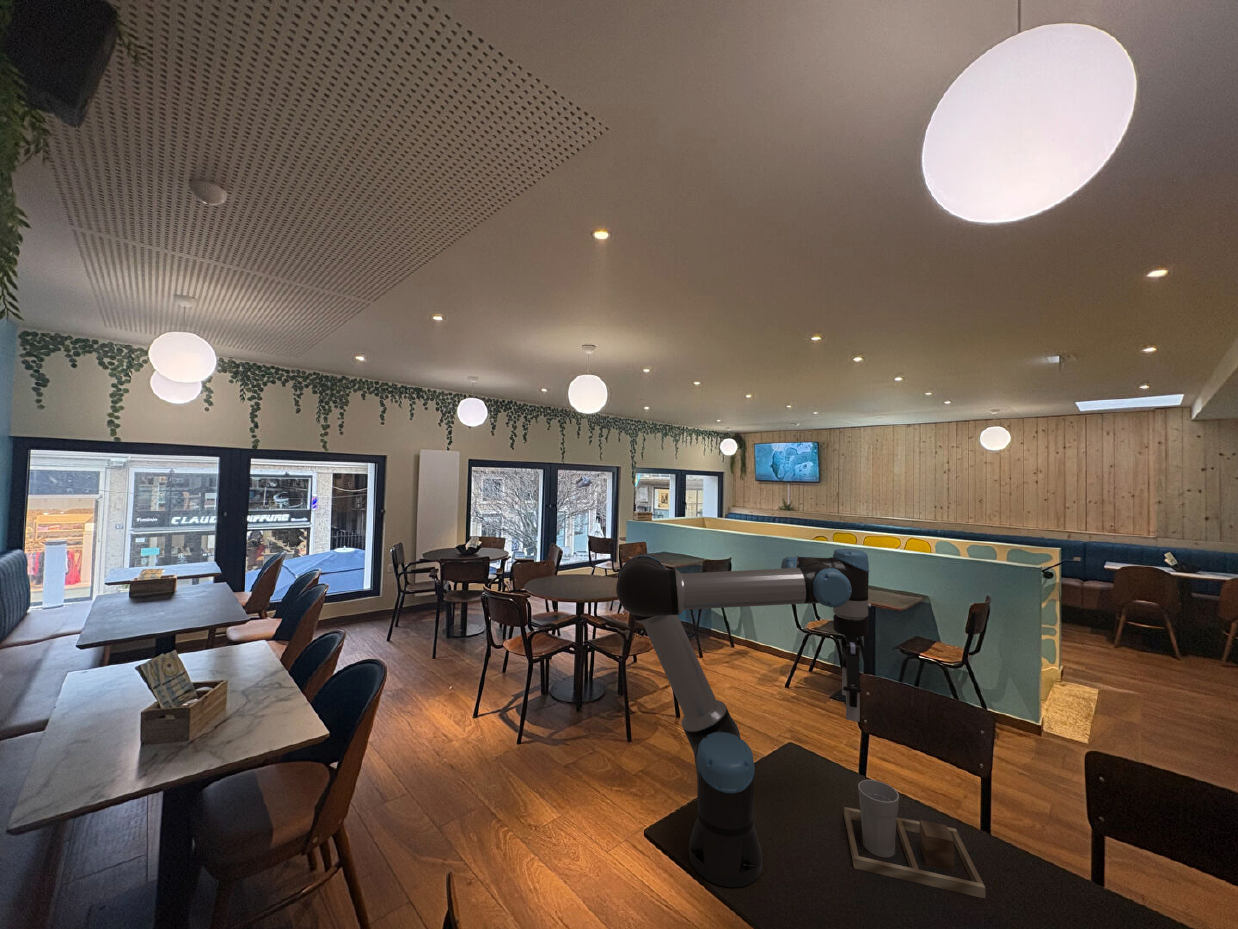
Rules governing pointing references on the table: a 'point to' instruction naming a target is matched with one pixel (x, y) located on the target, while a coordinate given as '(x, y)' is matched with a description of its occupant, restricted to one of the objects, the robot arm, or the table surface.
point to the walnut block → (936, 845)
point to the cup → (878, 816)
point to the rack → (912, 872)
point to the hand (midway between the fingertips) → (850, 707)
